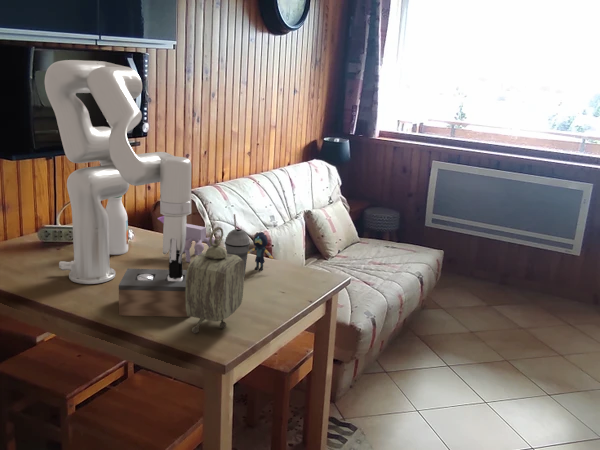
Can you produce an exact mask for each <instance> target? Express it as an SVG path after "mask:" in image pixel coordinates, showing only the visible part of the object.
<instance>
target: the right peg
mask: <svg viewBox="0 0 600 450" xmlns="http://www.w3.org/2000/svg"><path fill="white" fill-rule="evenodd" d="M167 281H183V275H182V277H181V278H170V277H169V275H168V276H167Z"/></svg>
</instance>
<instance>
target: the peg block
mask: <svg viewBox="0 0 600 450" xmlns="http://www.w3.org/2000/svg"><path fill="white" fill-rule="evenodd" d="M141 274H151V275H153V281H148V280H137V276H138V275H141ZM168 275H169V269H156V268H129V267H128V268H127V269H126V271H125V272H124V274H123V275H122V278H121V280H120V282H119V283H118V314H119V315H118V316H122V317H123V316H125V317H127V316H130V317H133V316H135V317H136V316H137V317H172V318H174V317H175V318H176V317H177V318H178V317H180V318H182V317H183V318H186V317H187V318H189V317H191V316H187V312H186V298H185V291H186V275H187V269H183V274H182V275H183V281H167V276H168Z"/></svg>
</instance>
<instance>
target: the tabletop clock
mask: <svg viewBox="0 0 600 450" xmlns="http://www.w3.org/2000/svg"><path fill="white" fill-rule="evenodd" d="M218 231H220V233H221V234H220V237H219V239H217V238H214V237H213V236H214V235H215V233H216V232H218ZM209 237H210V245H211V247H209V246H208V248H207V250H205V251H204V252H202V254H200V255H196V257H195V258H193V259H192V260H190V262H189V264H188V265H187V269H186V270H187V275H186V291H185V298H186V312H187V316H191V317H192V318H196V319H199V320H198V322H197V325H196V326H193V327H192V329H191V331H192V333H193V334H198V333H199V330H200V328H199V327H200V326H201V325H202V323H203V322H204V321H205V320H207V321H213V322H219V321H220V323H219V327H220V328H221V329H225V328H226V327H227V323H226V322H225V321H224V320H226V319H228V318H229V317H231V316H232V315H233V314H234V313H235V312H236V311H237V310H238V309H239V308H240V306H241V305H242V302H243V297H244V285H245V284H244V283H245V276H244V261H243V260H242V259H241V258H240V257H239V256H237V255H232V254H227V251H226V248H225V247H223V246H222V245H219V244H220V243H222V242H221V241H222V240H223V237H224V230H223V228H222V227H221V226H217V227H215V228H214V229H213V230H212V232H211V233H210V235H209ZM212 237H213V238H214V239H215V240H214V244H212Z"/></svg>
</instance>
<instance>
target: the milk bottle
mask: <svg viewBox="0 0 600 450" xmlns="http://www.w3.org/2000/svg"><path fill="white" fill-rule="evenodd" d="M122 199H123V195H122V196H119V197H115V198H110V199H107V202H106V203H107V204H106V206H105V207H104V209H105V210H106V212H107V215H108V224H109V255H110V256H112V255H114V256H116V255H117V256H118V255H123V254H126V253H128V251H129V224H128V223H129V222H128V221H129V220H128V219H129V218H128V214H127V210H126V208H125V207H124V205H123V202H122V201H123V200H122Z"/></svg>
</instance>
